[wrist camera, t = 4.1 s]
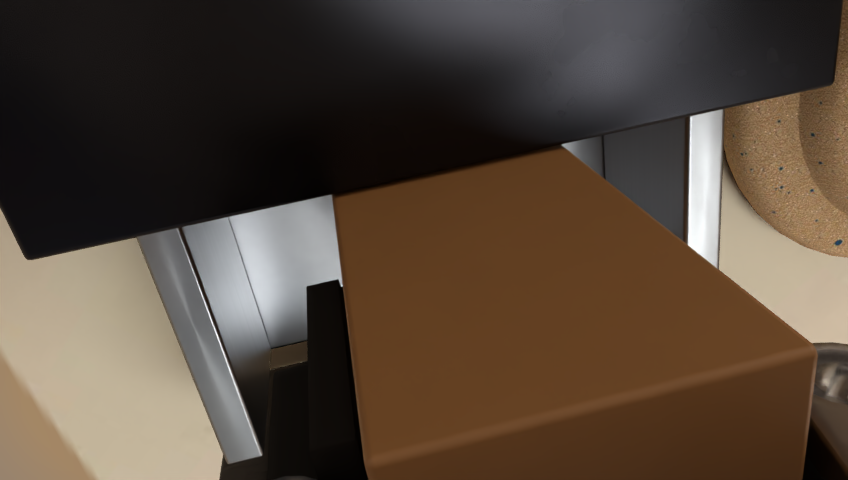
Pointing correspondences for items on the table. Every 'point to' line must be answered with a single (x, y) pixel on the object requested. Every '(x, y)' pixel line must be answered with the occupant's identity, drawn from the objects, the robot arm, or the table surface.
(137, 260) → the table surface
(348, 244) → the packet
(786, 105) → the candle holder
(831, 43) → the black drawer housing
